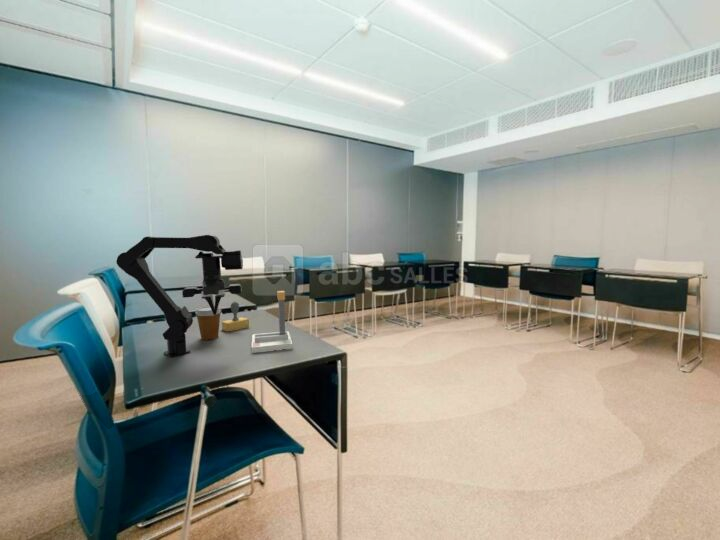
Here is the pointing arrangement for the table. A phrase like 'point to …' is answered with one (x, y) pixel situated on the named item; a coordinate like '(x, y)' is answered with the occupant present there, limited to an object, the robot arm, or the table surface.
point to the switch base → (271, 342)
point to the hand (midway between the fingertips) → (215, 314)
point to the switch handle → (281, 311)
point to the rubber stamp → (235, 320)
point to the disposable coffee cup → (208, 322)
